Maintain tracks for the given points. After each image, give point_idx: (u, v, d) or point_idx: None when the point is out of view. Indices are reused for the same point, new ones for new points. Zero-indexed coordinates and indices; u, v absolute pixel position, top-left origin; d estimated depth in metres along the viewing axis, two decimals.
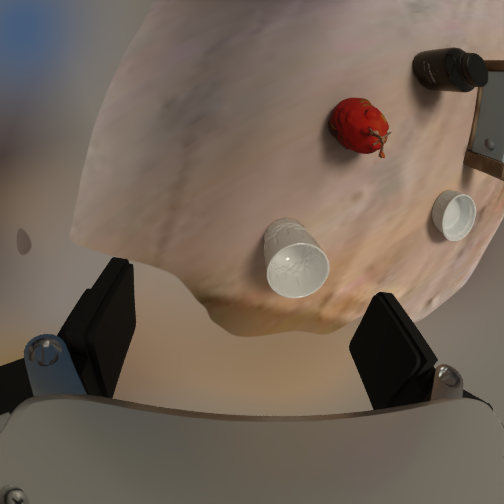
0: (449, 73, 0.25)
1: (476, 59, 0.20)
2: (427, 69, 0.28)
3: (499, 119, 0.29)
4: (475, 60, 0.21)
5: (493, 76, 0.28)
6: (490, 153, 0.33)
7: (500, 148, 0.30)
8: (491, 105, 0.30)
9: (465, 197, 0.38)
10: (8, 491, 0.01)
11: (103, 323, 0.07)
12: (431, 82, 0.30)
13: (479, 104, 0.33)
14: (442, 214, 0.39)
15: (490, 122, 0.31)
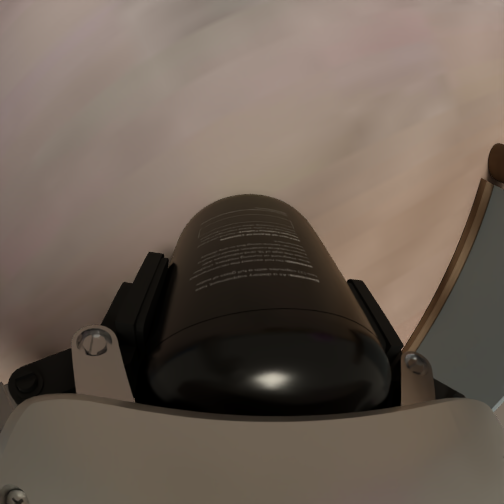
0: None
1: None
2: None
3: (476, 374, 0.11)
4: None
5: None
6: None
7: None
8: (477, 316, 0.13)
9: None
10: (8, 491, 0.01)
11: (149, 313, 0.07)
12: None
13: (448, 290, 0.15)
14: None
15: (453, 363, 0.14)
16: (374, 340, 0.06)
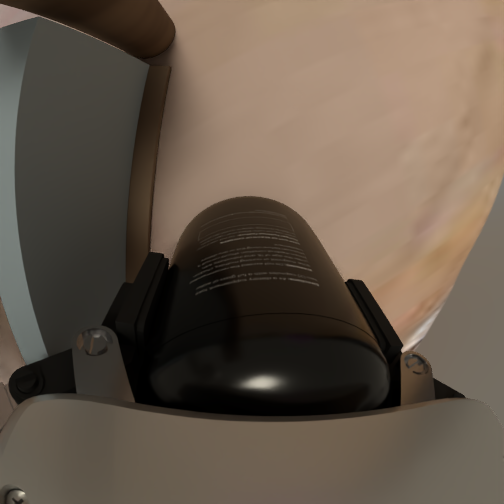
0: None
1: None
2: None
3: None
4: None
5: None
6: None
7: None
8: None
9: None
10: (8, 491, 0.01)
11: (149, 314, 0.07)
12: None
13: None
14: None
15: None
16: (373, 344, 0.06)
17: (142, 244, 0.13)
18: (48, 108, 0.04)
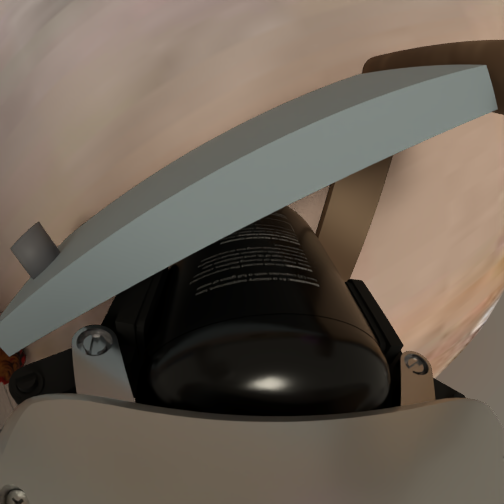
0: None
1: None
2: None
3: (139, 198, 0.08)
4: None
5: (364, 76, 0.09)
6: (30, 279, 0.09)
7: (19, 297, 0.07)
8: (216, 141, 0.09)
9: None
10: (8, 491, 0.01)
11: (149, 314, 0.07)
12: None
13: (328, 236, 0.15)
14: None
15: (134, 194, 0.09)
16: (373, 344, 0.06)
17: (354, 257, 0.16)
18: None
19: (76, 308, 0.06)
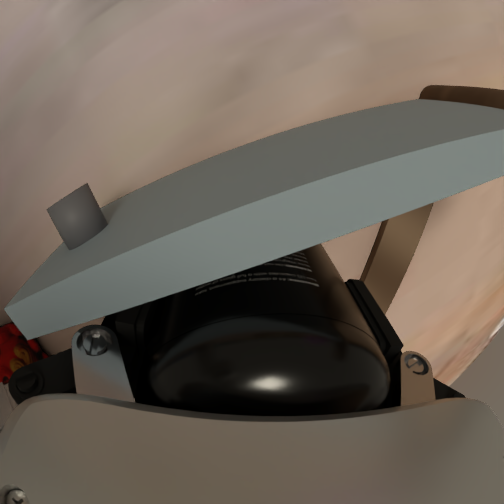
0: None
1: None
2: None
3: (238, 174, 0.07)
4: None
5: (434, 104, 0.09)
6: (61, 250, 0.08)
7: (57, 269, 0.06)
8: (303, 135, 0.09)
9: None
10: (8, 491, 0.01)
11: (149, 314, 0.07)
12: None
13: (383, 253, 0.15)
14: None
15: (209, 171, 0.09)
16: (373, 344, 0.06)
17: (403, 271, 0.16)
18: None
19: (160, 288, 0.06)
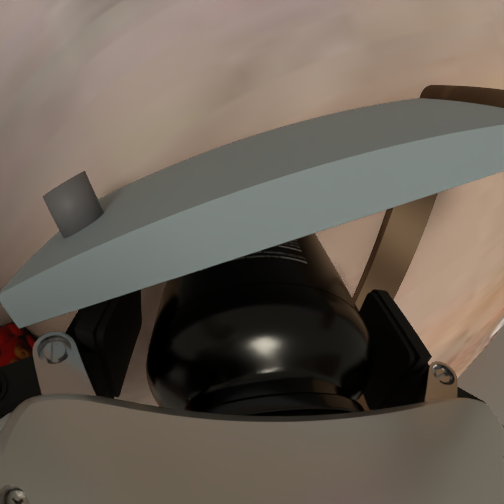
0: None
1: None
2: None
3: (236, 163, 0.07)
4: None
5: (434, 102, 0.09)
6: (56, 238, 0.08)
7: (51, 255, 0.06)
8: (303, 128, 0.09)
9: None
10: (8, 491, 0.01)
11: (112, 321, 0.07)
12: None
13: (384, 252, 0.15)
14: None
15: (208, 162, 0.09)
16: (354, 313, 0.07)
17: (403, 271, 0.16)
18: None
19: (153, 275, 0.05)
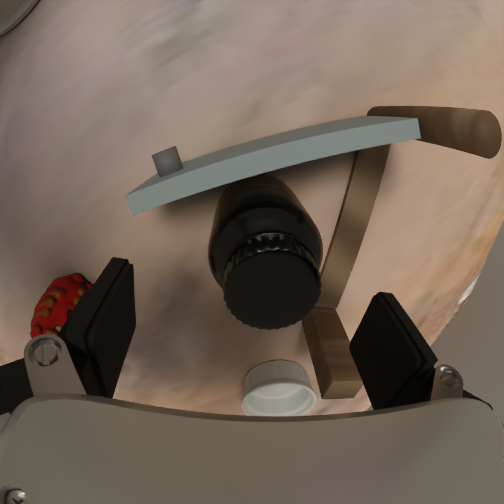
0: None
1: (265, 266, 0.13)
2: None
3: (251, 147, 0.16)
4: (260, 271, 0.13)
5: (365, 118, 0.18)
6: (152, 179, 0.17)
7: (163, 178, 0.15)
8: (285, 134, 0.18)
9: None
10: (8, 491, 0.01)
11: (103, 324, 0.07)
12: None
13: (346, 216, 0.24)
14: (241, 402, 0.30)
15: (236, 148, 0.18)
16: (307, 215, 0.16)
17: (362, 231, 0.25)
18: None
19: (218, 182, 0.14)
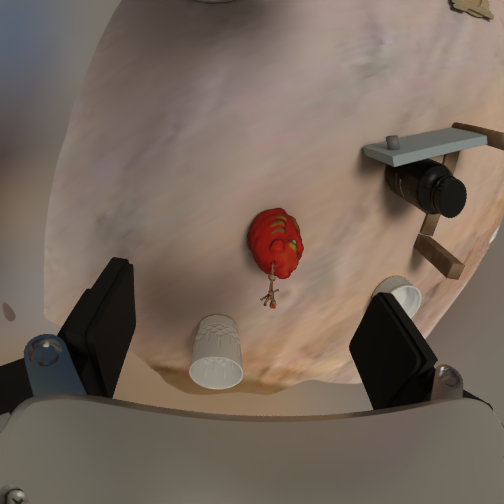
0: (419, 200, 0.30)
1: (454, 187, 0.26)
2: (399, 184, 0.33)
3: (428, 142, 0.29)
4: (452, 189, 0.26)
5: (457, 130, 0.31)
6: (385, 150, 0.30)
7: (403, 151, 0.28)
8: (430, 136, 0.31)
9: None
10: (8, 491, 0.01)
11: (103, 324, 0.07)
12: (401, 196, 0.35)
13: None
14: None
15: (414, 141, 0.31)
16: None
17: None
18: None
19: (428, 156, 0.27)
